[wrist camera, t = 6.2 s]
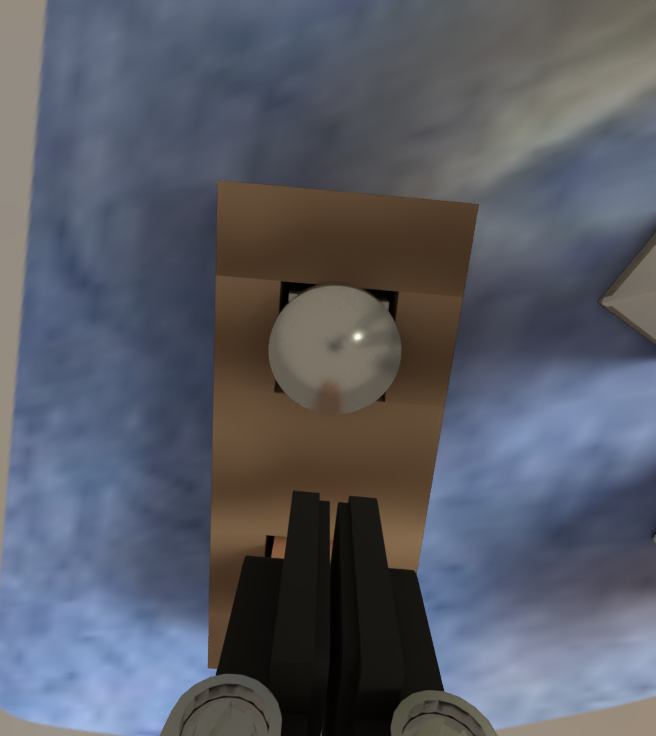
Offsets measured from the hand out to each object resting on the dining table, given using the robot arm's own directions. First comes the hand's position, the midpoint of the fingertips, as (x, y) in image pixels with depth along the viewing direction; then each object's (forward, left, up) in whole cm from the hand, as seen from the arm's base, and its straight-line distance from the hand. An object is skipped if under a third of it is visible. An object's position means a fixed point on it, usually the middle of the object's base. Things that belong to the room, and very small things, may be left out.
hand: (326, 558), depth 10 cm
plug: (-1, 0, -17) cm, 17 cm away
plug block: (+5, 0, -17) cm, 18 cm away
